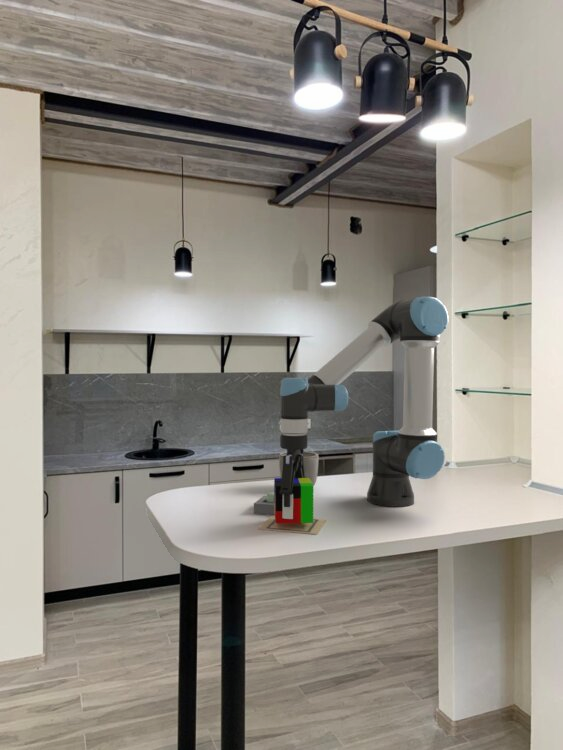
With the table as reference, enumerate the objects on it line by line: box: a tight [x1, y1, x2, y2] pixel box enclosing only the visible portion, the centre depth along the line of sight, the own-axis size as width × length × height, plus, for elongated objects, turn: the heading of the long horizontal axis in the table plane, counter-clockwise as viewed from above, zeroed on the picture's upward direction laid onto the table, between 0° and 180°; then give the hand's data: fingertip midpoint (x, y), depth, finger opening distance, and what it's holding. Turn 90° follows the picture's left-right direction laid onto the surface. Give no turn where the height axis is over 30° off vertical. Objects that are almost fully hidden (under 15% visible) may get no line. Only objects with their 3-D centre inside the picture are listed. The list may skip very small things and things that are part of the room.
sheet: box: [257, 515, 327, 535], centre depth 151 cm, size 16×13×1 cm
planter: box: [278, 450, 320, 487], centre depth 192 cm, size 14×14×13 cm
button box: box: [253, 495, 275, 516], centre depth 166 cm, size 10×10×3 cm
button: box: [265, 491, 274, 503], centre depth 166 cm, size 5×5×4 cm
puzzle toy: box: [273, 477, 314, 524], centre depth 151 cm, size 10×10×10 cm
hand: (293, 512), depth 151 cm, fingers open, 12 cm apart
